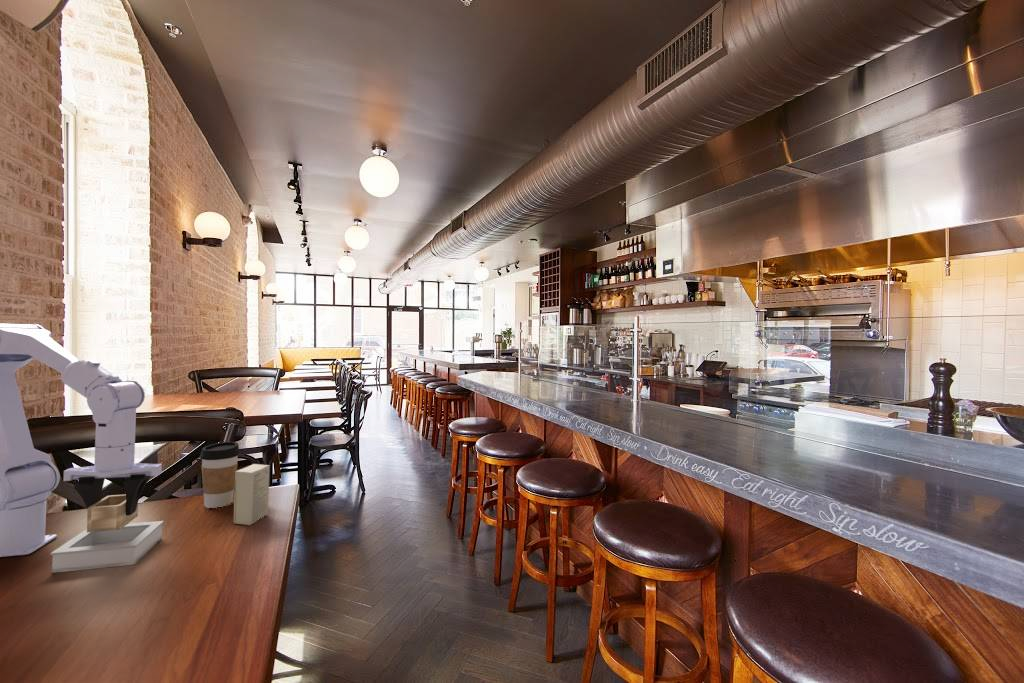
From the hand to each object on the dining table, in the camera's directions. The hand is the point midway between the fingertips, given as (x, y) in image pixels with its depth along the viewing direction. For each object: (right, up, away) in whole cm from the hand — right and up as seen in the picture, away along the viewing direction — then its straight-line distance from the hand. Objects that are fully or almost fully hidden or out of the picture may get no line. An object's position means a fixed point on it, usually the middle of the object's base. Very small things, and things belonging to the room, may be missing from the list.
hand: (113, 514), depth 84 cm
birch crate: (0, -2, 0) cm, 2 cm away
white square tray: (0, -8, 0) cm, 8 cm away
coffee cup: (+3, -8, +26) cm, 28 cm away
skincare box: (+16, -8, +18) cm, 25 cm away
